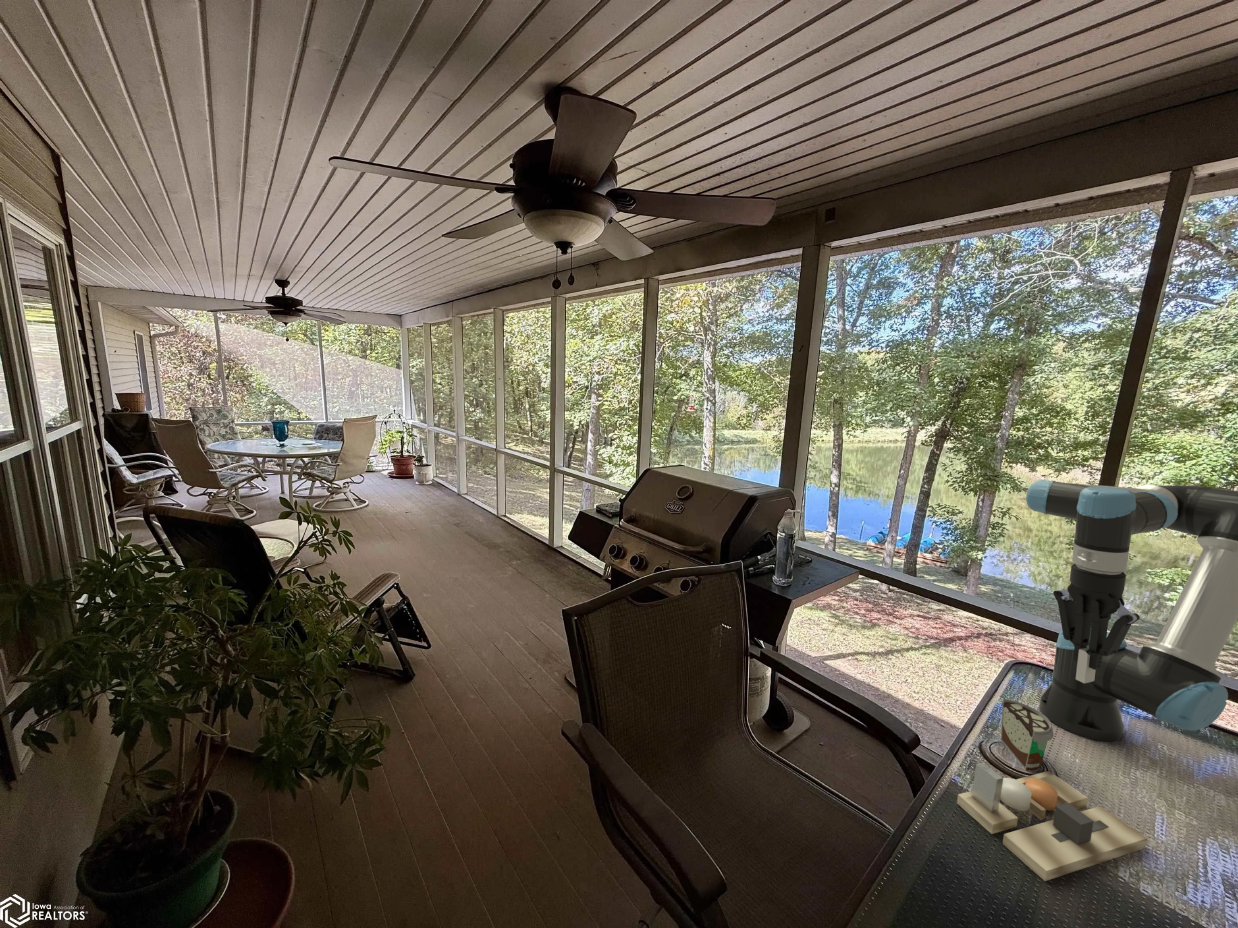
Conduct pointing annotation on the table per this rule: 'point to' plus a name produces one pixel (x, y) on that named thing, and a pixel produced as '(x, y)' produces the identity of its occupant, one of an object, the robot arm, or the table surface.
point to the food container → (1025, 733)
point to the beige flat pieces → (1057, 833)
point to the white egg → (1015, 794)
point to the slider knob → (1073, 823)
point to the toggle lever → (987, 787)
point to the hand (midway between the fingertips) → (1084, 679)
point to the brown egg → (1042, 793)
